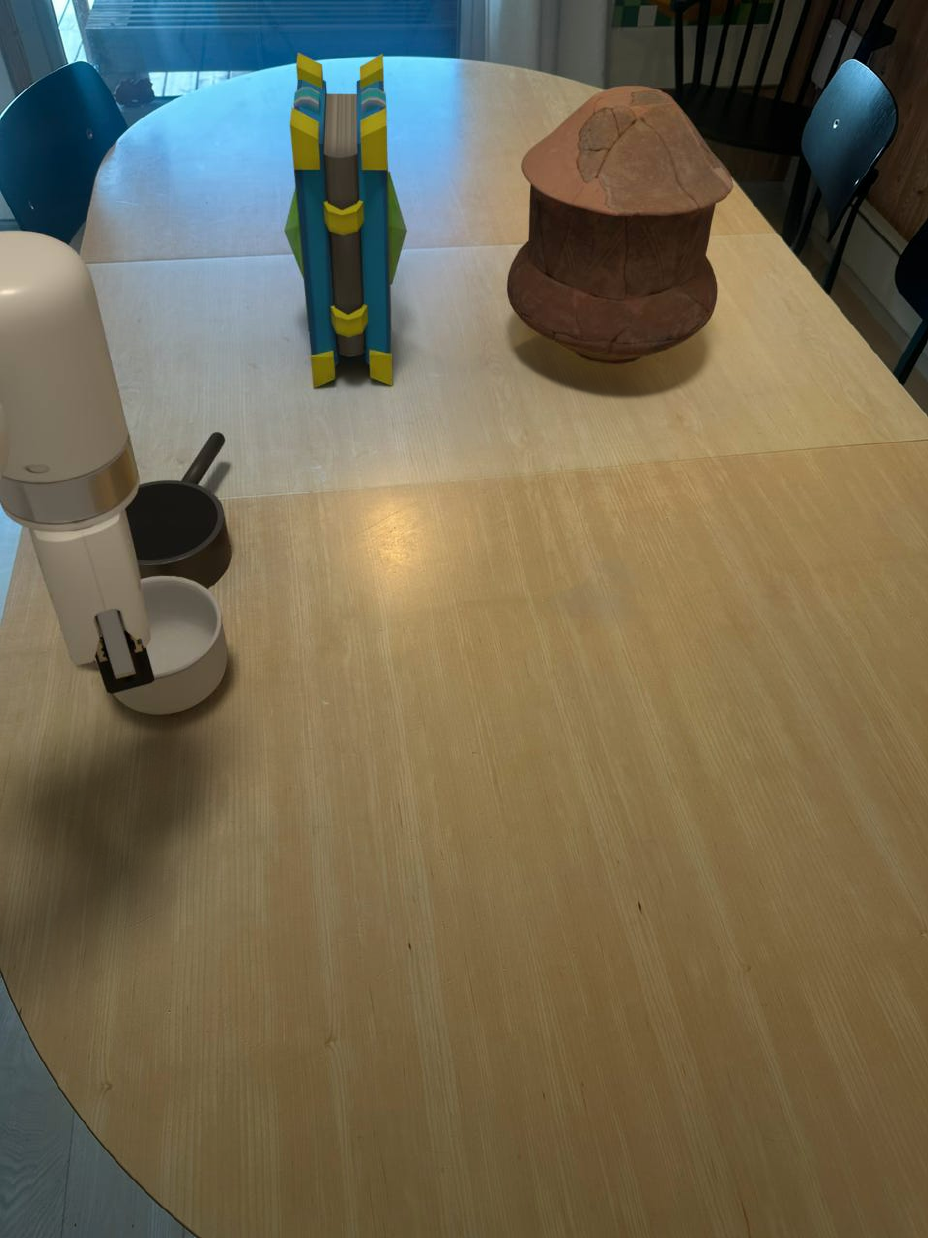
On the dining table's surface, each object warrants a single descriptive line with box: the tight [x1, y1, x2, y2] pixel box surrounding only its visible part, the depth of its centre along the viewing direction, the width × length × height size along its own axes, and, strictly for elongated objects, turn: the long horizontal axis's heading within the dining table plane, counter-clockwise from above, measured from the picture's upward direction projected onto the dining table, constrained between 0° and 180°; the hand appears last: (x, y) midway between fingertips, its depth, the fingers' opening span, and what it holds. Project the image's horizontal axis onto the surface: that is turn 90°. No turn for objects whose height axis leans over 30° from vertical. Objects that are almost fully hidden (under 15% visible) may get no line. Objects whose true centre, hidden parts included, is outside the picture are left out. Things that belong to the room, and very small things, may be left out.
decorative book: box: [283, 52, 408, 389], centre depth 112 cm, size 14×23×30 cm, turn 4°
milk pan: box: [125, 431, 232, 590], centre depth 96 cm, size 12×21×5 cm, turn 168°
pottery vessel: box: [506, 85, 734, 365], centre depth 113 cm, size 26×26×30 cm
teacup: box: [93, 576, 228, 715], centre depth 82 cm, size 14×11×8 cm
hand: (129, 679), depth 67 cm, fingers closed
